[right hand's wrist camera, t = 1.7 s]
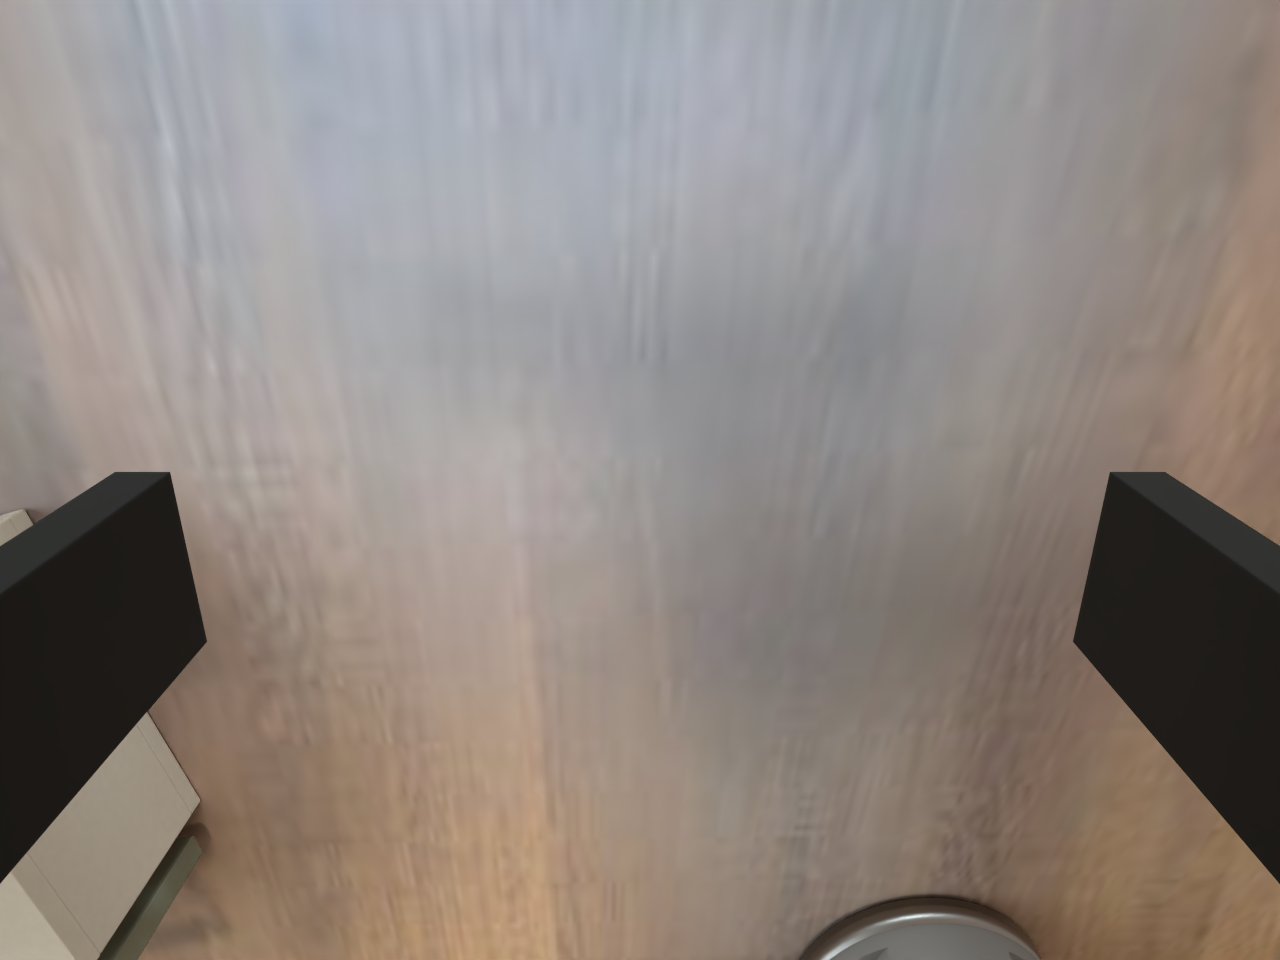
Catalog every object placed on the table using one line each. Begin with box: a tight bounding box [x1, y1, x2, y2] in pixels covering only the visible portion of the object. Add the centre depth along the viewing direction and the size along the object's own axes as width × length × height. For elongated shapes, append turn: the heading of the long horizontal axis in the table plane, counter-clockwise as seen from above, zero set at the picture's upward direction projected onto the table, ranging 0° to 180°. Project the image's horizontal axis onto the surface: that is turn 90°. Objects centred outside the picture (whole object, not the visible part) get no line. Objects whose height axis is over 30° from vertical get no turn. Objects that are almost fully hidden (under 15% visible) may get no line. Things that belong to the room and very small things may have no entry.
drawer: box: [97, 836, 203, 960], centre depth 41 cm, size 23×10×8 cm, turn 16°
